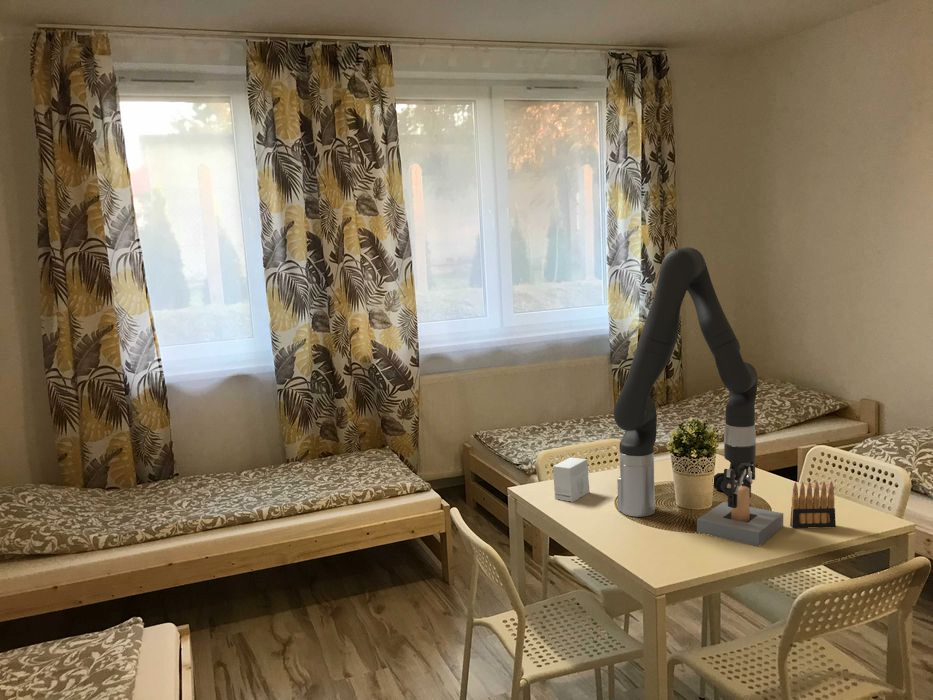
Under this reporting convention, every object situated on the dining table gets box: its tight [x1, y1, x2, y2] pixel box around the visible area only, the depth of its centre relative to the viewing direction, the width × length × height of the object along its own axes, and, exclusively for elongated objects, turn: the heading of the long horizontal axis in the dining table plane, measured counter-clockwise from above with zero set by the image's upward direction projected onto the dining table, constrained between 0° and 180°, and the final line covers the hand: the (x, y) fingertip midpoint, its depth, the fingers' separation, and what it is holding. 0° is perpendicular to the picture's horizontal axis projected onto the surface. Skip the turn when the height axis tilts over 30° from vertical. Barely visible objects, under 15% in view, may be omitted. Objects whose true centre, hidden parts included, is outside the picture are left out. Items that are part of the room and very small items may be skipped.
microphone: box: [713, 472, 728, 497], centre depth 221 cm, size 6×6×20 cm
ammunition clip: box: [789, 480, 837, 529], centre depth 196 cm, size 11×2×12 cm, turn 85°
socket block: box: [696, 501, 784, 547], centre depth 197 cm, size 16×16×4 cm
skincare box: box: [552, 456, 590, 503], centre depth 230 cm, size 10×6×10 cm, turn 142°
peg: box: [731, 485, 751, 523], centre depth 197 cm, size 4×4×11 cm
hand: (739, 502), depth 197 cm, fingers open, 8 cm apart
